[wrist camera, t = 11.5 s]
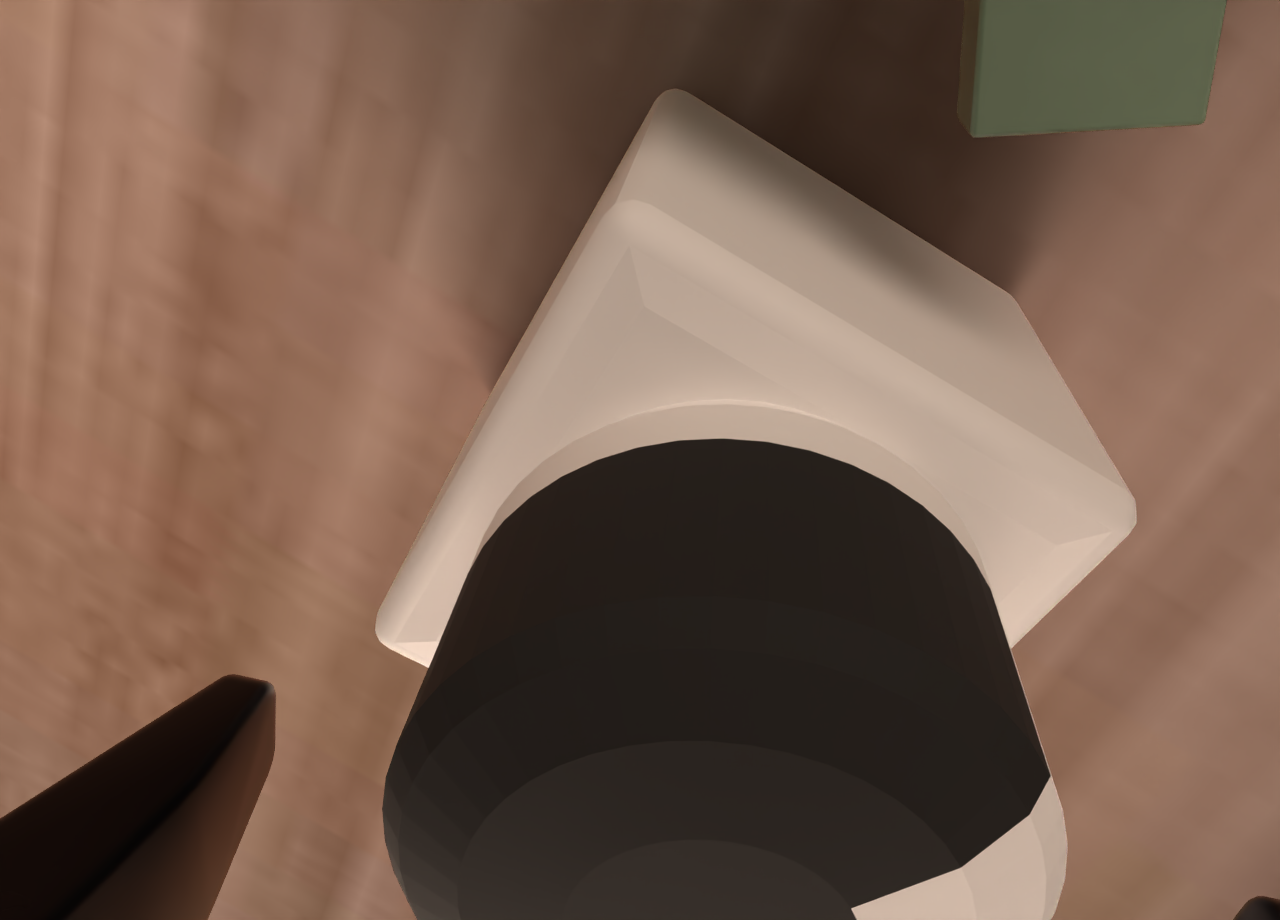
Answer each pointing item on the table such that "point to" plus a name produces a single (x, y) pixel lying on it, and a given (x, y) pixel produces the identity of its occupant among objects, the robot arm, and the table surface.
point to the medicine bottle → (745, 572)
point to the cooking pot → (1086, 65)
